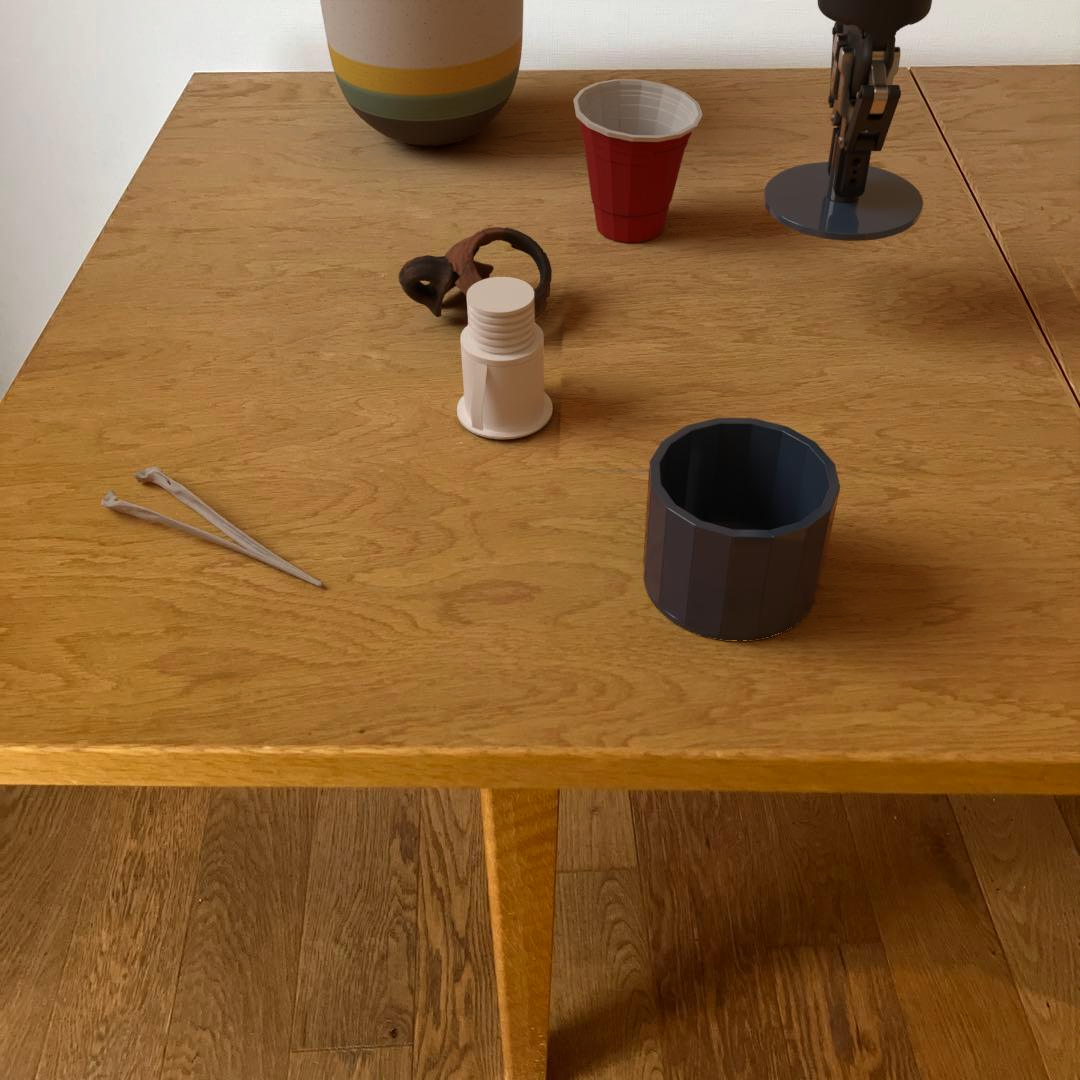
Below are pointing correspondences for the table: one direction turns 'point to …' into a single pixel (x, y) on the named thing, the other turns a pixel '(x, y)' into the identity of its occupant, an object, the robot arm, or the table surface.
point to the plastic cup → (634, 152)
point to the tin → (737, 527)
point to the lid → (842, 203)
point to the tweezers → (207, 512)
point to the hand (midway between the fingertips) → (844, 184)
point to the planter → (425, 63)
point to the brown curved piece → (469, 269)
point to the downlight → (502, 362)
